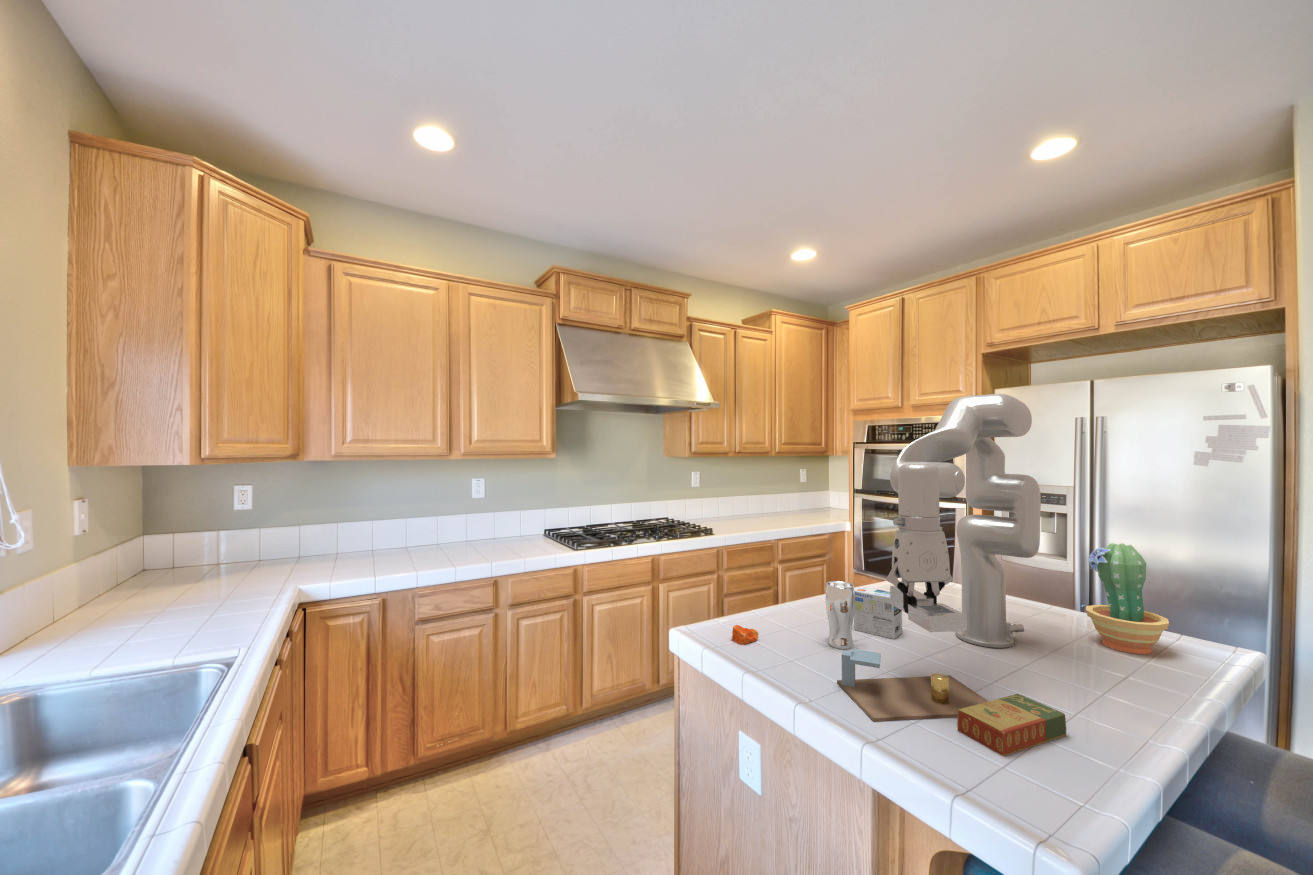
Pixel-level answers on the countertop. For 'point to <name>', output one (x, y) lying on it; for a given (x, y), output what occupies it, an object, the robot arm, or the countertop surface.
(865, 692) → the board
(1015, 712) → the carton
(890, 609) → the light bulb box
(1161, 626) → the potted cactus
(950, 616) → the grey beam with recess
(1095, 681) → the countertop surface
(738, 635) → the rock
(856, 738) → the countertop surface
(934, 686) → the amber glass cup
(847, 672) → the bracket
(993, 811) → the countertop surface
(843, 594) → the beer glass
